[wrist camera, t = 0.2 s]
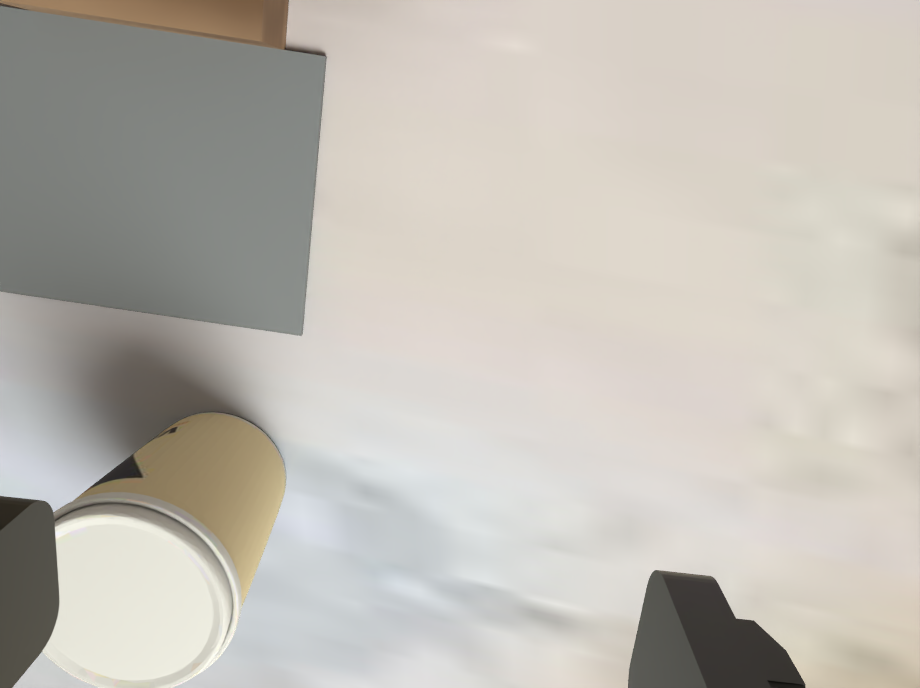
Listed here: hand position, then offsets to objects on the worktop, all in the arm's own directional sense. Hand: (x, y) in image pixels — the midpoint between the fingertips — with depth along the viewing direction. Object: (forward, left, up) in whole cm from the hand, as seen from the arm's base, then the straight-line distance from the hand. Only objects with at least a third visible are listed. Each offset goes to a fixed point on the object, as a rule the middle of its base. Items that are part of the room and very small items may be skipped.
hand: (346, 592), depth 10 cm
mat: (-1, -15, -29) cm, 32 cm away
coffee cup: (+15, -11, -29) cm, 34 cm away
